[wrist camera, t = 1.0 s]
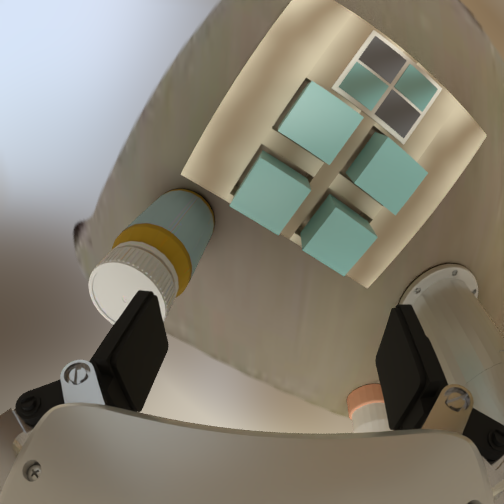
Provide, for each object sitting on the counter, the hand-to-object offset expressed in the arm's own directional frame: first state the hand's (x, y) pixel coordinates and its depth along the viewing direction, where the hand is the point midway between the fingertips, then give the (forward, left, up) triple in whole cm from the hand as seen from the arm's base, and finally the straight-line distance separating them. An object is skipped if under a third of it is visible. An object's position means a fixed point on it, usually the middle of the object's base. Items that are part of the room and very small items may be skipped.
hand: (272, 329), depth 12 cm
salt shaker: (-33, +21, -21) cm, 44 cm away
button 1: (-6, -7, -17) cm, 20 cm away
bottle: (+6, +9, -21) cm, 24 cm away
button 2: (-6, 0, -17) cm, 18 cm away
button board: (-3, -7, -21) cm, 22 cm away
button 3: (+1, -7, -17) cm, 19 cm away
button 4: (+1, 0, -17) cm, 17 cm away
